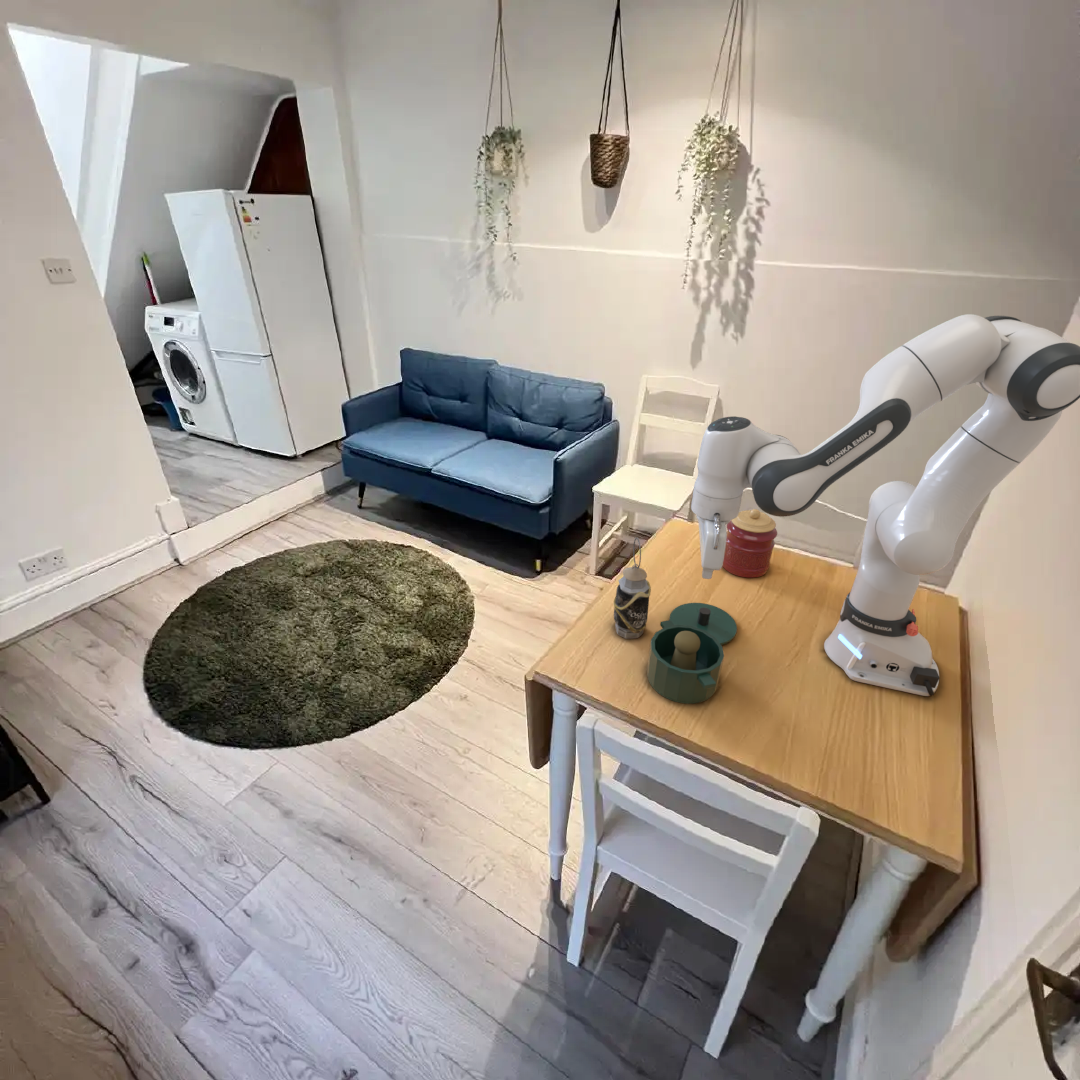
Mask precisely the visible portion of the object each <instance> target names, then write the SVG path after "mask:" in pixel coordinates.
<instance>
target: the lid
mask: <svg viewBox="0 0 1080 1080" xmlns="http://www.w3.org/2000/svg"><path fill="white" fill-rule="evenodd" d="M668 619H669V620H671V622H672V623H673V624H674V625H685V626H692V627H695V628H698V629H702V630H704V631H706V632H707V633H709V634H711V635H712V636H714V637H715V638H716V639H717V640H718V642H719V643H720V644H721V645H722V646H723V645H725V644H728V643H729V642H731V641H732V640H733V639H734V638H735V637H736V634H737V631H738V625H737V623H736V620H735V619H734V618H733V616H732V615H730V613H728V612H727V611H725V610H724V609H722V608H720V607H718V606H716V605H714V604H713V605H712V604H709V603H704V602H687V603H682V604H680V605H678V606H677V607H675V608H674V609H673V610H671V612H670V615H669V618H668Z"/></svg>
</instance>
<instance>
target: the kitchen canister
mask: <svg viewBox="0 0 1080 1080" xmlns="http://www.w3.org/2000/svg"><path fill="white" fill-rule="evenodd" d="M776 526H777V523H776V521H775V520H774V519H773V518H772V517H770V515H769V514H768V513H766V512H763V511H760V510H759V509H757V508H753V509H745V510H741V511H739V514H738V516H737V517H736V518H734V519H732V520H730V522H729V523H728V524H726V532H727V538H726V547H725V554H724V560H723V566H722V568H723V569H724V570H725V571H726V572H729V573H730V574H732V575H735V576H738V577H741V578H750V579H751V578H759V577H762V576H764V575H765V574H766V573H767V572H768V570H769V568H770V565H771V558H772V554H773V550H774V547H775V543H776V542H775V539H776V538H777V537H778V530H777V528H776Z"/></svg>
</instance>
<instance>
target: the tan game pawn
mask: <svg viewBox="0 0 1080 1080" xmlns="http://www.w3.org/2000/svg"><path fill="white" fill-rule="evenodd" d="M674 644H675V647H676V648H675V651H674V654H673V657H672V660H671V663H670V665H672V666H675V667H678V668H681V669H685V670H695V671H696V652H697V651H698V649H699V648H700V639H699V637H698V636H697V635H696V634H695V633H693V632H691V631H681V632H679V633H678V634H677V635H676V637H675V640H674Z"/></svg>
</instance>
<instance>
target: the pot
mask: <svg viewBox="0 0 1080 1080" xmlns="http://www.w3.org/2000/svg"><path fill="white" fill-rule="evenodd" d="M659 626H660V627H661V629H659V630H658V631H656V632H655V633H654V635H652V638H651V639H650V644H649V651H648V652H649V653H648V659H647V660H648V661H647V667H646V669H647V673H646V676H647V681H648V682H649V683H648V684H650V686H651V688H652V689H653V690H654V691H655V692H656V693H657V694H659V695H660V696H661V697H663V698H665V699H667V700H669V701H672V702H675V703H678V704H685V705H686V704H687V705H690V704H691V705H693V704H700V703H704V702H705V701H707V700H709V699H710V698H712V697H713V696H714V694H715V693H716V691H717V689H718V686H719V682H720V678H721V673H722V668H723V663H724V659H725V654H724V653H725V652H724V648H723V645H721V644H720V643H719V642H718V640H717V639H716V638H715V637H714V636H712V635H711V634H709V633H707V632H706V631H704V630H702V629H698V628H695V627H692V626H685V625H674V624H673V623H672V622H671V620H668V619H667V620H662V621H660V624H659ZM681 631H691V632H693V633H695V634H696V635H697V636H698V637H699V639H700V648H699V649H698V651H697V652H696V671H695V670H685V669H681V668H678V667H675V666H672V665H670V663H671V660H672V657H673V654H674V651H675V648H676V647H675V644H674V640H675V637H676V635H677V634H678V633H679V632H681Z"/></svg>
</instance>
